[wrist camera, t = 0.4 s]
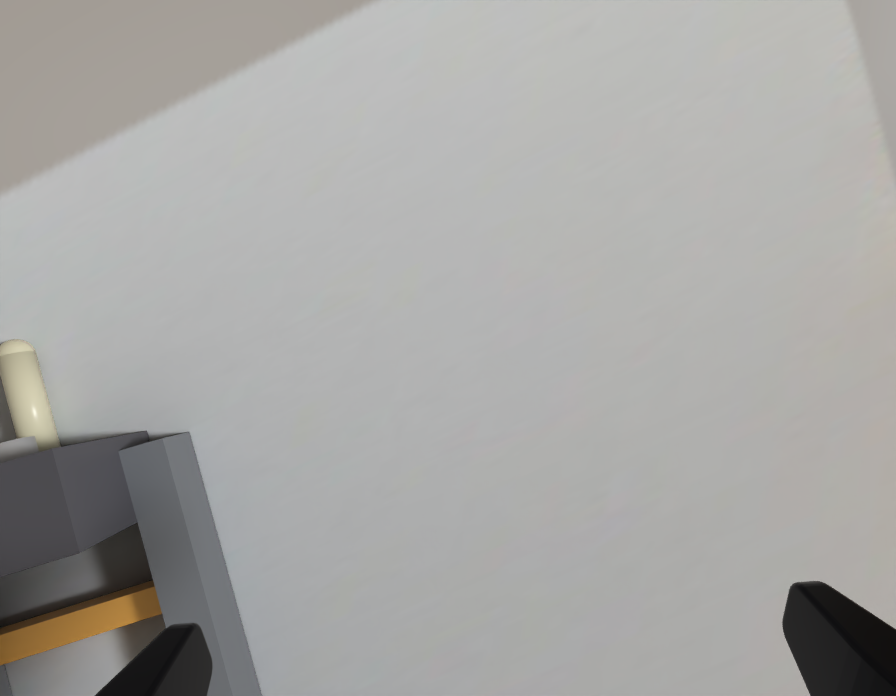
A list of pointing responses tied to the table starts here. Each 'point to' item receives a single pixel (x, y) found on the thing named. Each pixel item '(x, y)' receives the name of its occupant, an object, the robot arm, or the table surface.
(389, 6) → the table surface
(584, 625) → the table surface
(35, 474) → the grey channel tray
